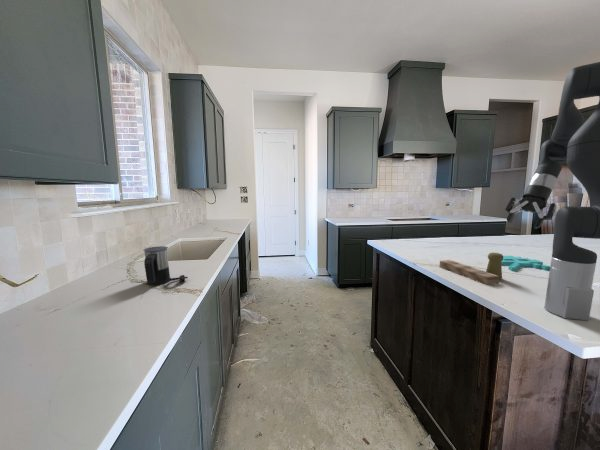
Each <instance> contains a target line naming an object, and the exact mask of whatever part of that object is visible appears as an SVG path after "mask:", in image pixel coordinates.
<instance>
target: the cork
mask: <svg viewBox="0 0 600 450" xmlns="http://www.w3.org/2000/svg"><path fill="white" fill-rule="evenodd" d="M503 256H504V255H503V254H502V253H500V252H489V253H488V255H487V260H488V264H487V267H486V270H485V272H488V273H491V274H494V275H497V276H499V281H502V280H503V271H502V270H503V269H502V265H501V261H502V260H503Z"/></svg>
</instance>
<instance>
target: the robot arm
mask: <svg viewBox="0 0 600 450" xmlns="http://www.w3.org/2000/svg"><path fill="white" fill-rule="evenodd" d="M562 87H563V88H562V92H561V96H560V102H559V107H558V114H557V119H556V123H555V126H554V127H553V128H554V129H553V130H552V134H551V137H550V139H546V140H545V141H544V142H543V143H542V144H541V147H540V149H539V160H538V163H537V164H538V165H537V167H536V169H535V171H534V174H533V175H532V177H531V178H530V180H529V182H528V184H527V186H526V188H525V191H524V192H523V195H522V197H521V198H519V199H518V198H515V197H511V199H510V200H509V202H508V203H507V205H506V207H505V211H506V212H507V213H508V216H507V217H506V221H507V223H509V224H512V222H513V220H514V218H515V216H516V215H517V214H518V213H521V212H526V213H527V212H529V213H532V214H535V213H536V214H537V215H538V217H537V219H536V221H535V223H534V225H533V228H534V229H535V230H537V229H540V228H541V226H542V224H543V222H544V221H551V220H552V219H553V217H554V214H555V211H556V209H557V205H556V203H555V202H552V203H548V201H549V199H550V197H551V194H552V193H553V190H554V188H555V186H556V183H557V179H558V178H559V175H560V173H561V171H562V168H563V165H562V164H561V163H560V162H557V161H554V160H555V159H557V160H562V161H563V160H565V161H566V165H567V168H568V170H569V171H570V172H571V173H572V175H573V176H574V177H575V178H576V179H577V181H579V182H580V183H581V185H582V187H583V188H584V189H585V191H586V193H587V196H588V200H589V206H570V205H569V206H567V205H566V206H562V207H560V208H559V209H558V210H557V212H556V214H555V217H554V224H553V225H554V227H553V229H554V230H553V240H552V252H551V253H552V254H551V260H550V270H549V273H548V279H547V287H546V295H545V299H544V300H545V301H544V310H546V311H547V312H549V313H551V314H553V315H556V316H560V317H562V318H563V319H568V320H569V319H570V320H580V321H581V320H583V321H589V320H590V316H591V310H592V305H593V298H594V293H595V291H594V289H592V288H593V283H594V278H595V277H594V276H595V271H596V267H597V266H596V265H597V259H598V254H597V253H596V252H595V251H593V250H590V249H588V248H584V247H582V246H579V245H577V244H575V243H574V242H573V241H574V240H573V238H576V239H577V238H579V239H581V238H582V239H595V240H598V239H599V240H600V61H597V62H593V63H592V62H591V63H588V64H583V65H579V66H576V67H573V68H572V69H571V70H569V72H568V74H567V75H566V77H565V80H564V83H563V86H562ZM594 97H599V100H598V104H597V106H596V108H595V110H594V111H593V112H592V113H591V115H590V116H589V118H587V120H585V118H584V115H583V113H582V112H581V111H580V109H578V107H577V106H576V104H575V100H581V99H586V98H594ZM552 159H554V160H552ZM517 203H518V204H519V205H517ZM515 205H517V206H515ZM514 206H515V207H514ZM546 207H547V210H548V211H547V213H546V215H544V214H543V212H542V210H543V209H545V208H546Z"/></svg>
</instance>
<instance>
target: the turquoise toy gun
mask: <svg viewBox="0 0 600 450" xmlns="http://www.w3.org/2000/svg"><path fill="white" fill-rule="evenodd" d="M501 266H508V270H509V271H511V272H518V270H519V269H521V268H534V269H541V270H543V271H550V266H549V265H547V264H544V261H540V260H538V259H532V258H528V257H527V258H526V257H521V256H514V255H503V260H502V261H501Z"/></svg>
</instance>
